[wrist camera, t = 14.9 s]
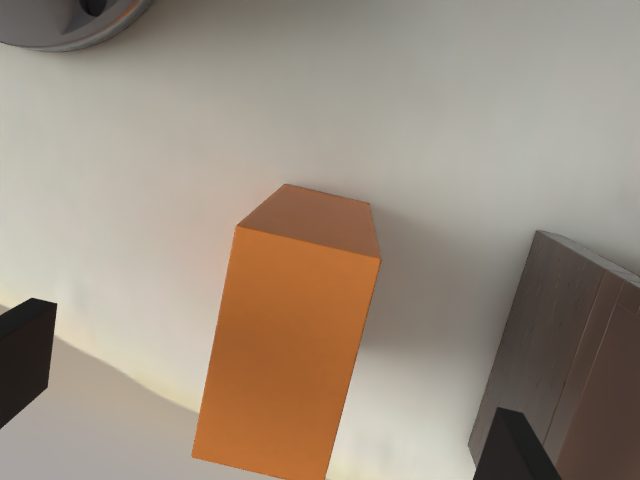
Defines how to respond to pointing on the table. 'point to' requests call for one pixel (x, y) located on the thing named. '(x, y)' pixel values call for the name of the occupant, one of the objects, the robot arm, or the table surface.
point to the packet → (288, 334)
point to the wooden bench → (571, 362)
